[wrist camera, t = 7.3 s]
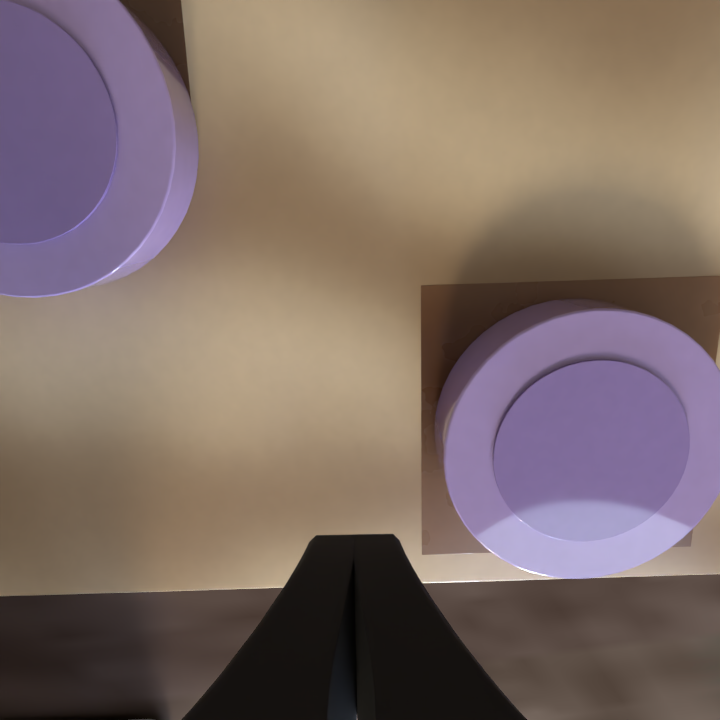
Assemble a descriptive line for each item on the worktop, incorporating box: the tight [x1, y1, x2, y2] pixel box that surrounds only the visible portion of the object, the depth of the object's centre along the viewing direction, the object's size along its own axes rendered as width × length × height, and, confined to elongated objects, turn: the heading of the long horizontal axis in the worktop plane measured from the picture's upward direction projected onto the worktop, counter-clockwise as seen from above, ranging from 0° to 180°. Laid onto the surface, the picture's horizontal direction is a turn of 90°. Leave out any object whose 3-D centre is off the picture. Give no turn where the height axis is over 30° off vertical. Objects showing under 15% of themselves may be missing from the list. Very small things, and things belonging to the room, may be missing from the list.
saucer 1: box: [0, 0, 199, 298], centre depth 12 cm, size 7×7×2 cm
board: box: [0, 0, 720, 596], centre depth 14 cm, size 20×24×1 cm
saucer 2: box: [434, 299, 720, 579], centre depth 14 cm, size 7×7×2 cm
